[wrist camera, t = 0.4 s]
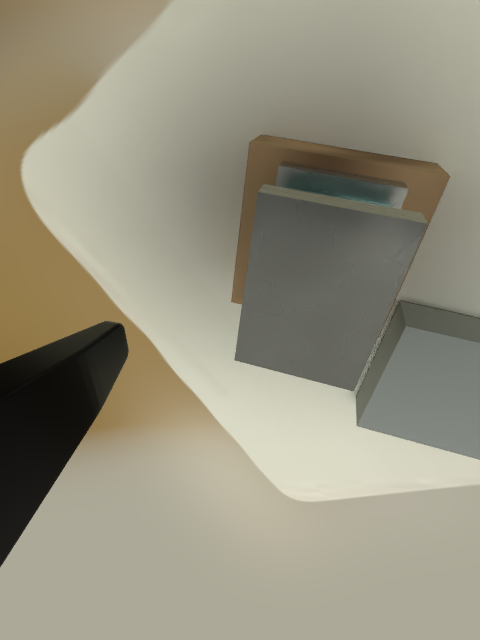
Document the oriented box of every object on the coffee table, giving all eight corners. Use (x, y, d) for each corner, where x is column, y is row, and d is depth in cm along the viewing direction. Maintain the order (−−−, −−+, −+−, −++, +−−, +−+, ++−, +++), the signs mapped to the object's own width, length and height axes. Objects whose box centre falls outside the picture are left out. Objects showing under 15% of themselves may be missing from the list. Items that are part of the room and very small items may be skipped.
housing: (405, 182, 14) (427, 223, 10) (352, 322, 18) (353, 391, 14) (282, 161, 15) (258, 191, 11) (258, 300, 19) (234, 360, 15)
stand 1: (437, 163, 15) (450, 176, 13) (375, 311, 20) (378, 336, 18) (261, 134, 17) (249, 142, 15) (242, 281, 21) (231, 301, 19)
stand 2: (556, 335, 18) (582, 366, 16) (478, 429, 23) (490, 462, 21) (400, 300, 19) (406, 326, 17) (356, 397, 24) (356, 425, 22)
